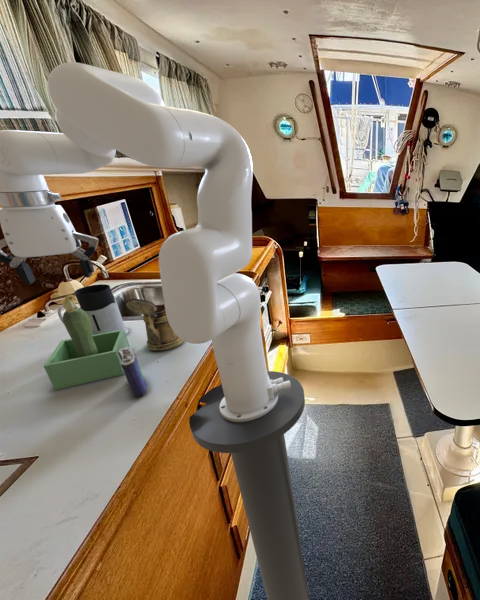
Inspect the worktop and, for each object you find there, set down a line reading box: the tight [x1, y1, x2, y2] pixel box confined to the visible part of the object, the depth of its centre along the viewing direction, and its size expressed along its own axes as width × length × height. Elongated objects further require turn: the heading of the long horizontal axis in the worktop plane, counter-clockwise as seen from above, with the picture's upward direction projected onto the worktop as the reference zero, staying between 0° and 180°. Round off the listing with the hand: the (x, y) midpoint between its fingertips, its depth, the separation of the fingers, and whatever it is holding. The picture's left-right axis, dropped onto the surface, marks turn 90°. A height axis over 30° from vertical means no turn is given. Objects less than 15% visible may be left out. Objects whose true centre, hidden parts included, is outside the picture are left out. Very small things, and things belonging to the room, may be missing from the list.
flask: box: [118, 346, 148, 399], centre depth 74 cm, size 9×3×11 cm, turn 43°
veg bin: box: [43, 330, 131, 391], centre depth 81 cm, size 13×13×7 cm
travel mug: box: [57, 283, 129, 335], centre depth 91 cm, size 9×14×15 cm, turn 172°
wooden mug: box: [125, 298, 185, 352], centre depth 88 cm, size 9×14×18 cm, turn 14°
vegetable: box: [62, 293, 99, 358], centre depth 78 cm, size 4×4×20 cm
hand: (61, 279), depth 72 cm, fingers open, 9 cm apart
